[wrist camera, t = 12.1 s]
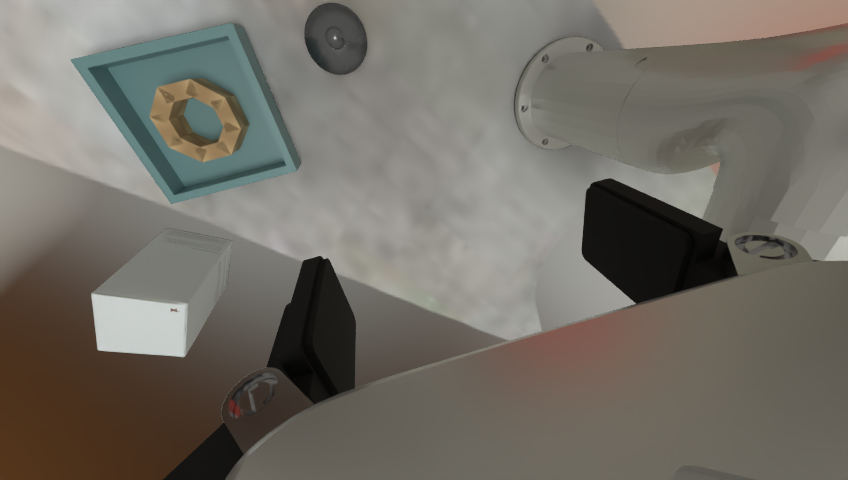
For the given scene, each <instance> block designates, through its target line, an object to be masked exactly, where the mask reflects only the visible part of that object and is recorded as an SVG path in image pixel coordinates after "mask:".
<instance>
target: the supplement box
mask: <svg viewBox="0 0 848 480" xmlns="http://www.w3.org/2000/svg"><path fill="white" fill-rule="evenodd" d="M231 247H232V241H231V240H226V239H222V238H217V237H211V236H207V235H201V234H197V233H191V232H187V231H181V230H176V229H169V228H166V229H165V230H163V231H162V232H161V233H160V234H159V235H158V236H157V237H155V238H154V239H153V240H152V241H151V242H150V243H149V244H147V245H146V246H145V247H144V248H143V249H142V250H141V251H139V253H137V254H136V255H135V256H134V257H133V258H132V259H130V260H129V261H128V262H127V263H126V264H125V265H124V266H123V267H121V268H120V269H119V270H118V271H117V272H116V273H115V274H113V276H111V277H110V278H109V279H108V280H107V281H105V283H103V284H102V285H101V286H100V287H99V288H98V289H96V290H95V291H94V292H93V293H92V294H91V296H92V303H93V313H94V321H95V329H96V339H97V349H98V350H101V351H112V352H127V353H139V354H154V355H168V356H179V357H184V356H185V355H186V354H187V352H188V350H189V349H190V347H191V345H192V344H193V342H194V340H195V339H196V337H197V335H198V333H199V332H200V330H201V328H202V326H203V325H204V323H205V321H206V319H207V318H208V316H209V314H210V312H211V311H212V309H213V307H214V306H215V304H216V302H217V300H218V299H219V297H220V295H221V293H222V292H223V290H224V288H225V287H226V285H227V282H228V275H229V266H230V257H231Z"/></svg>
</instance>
